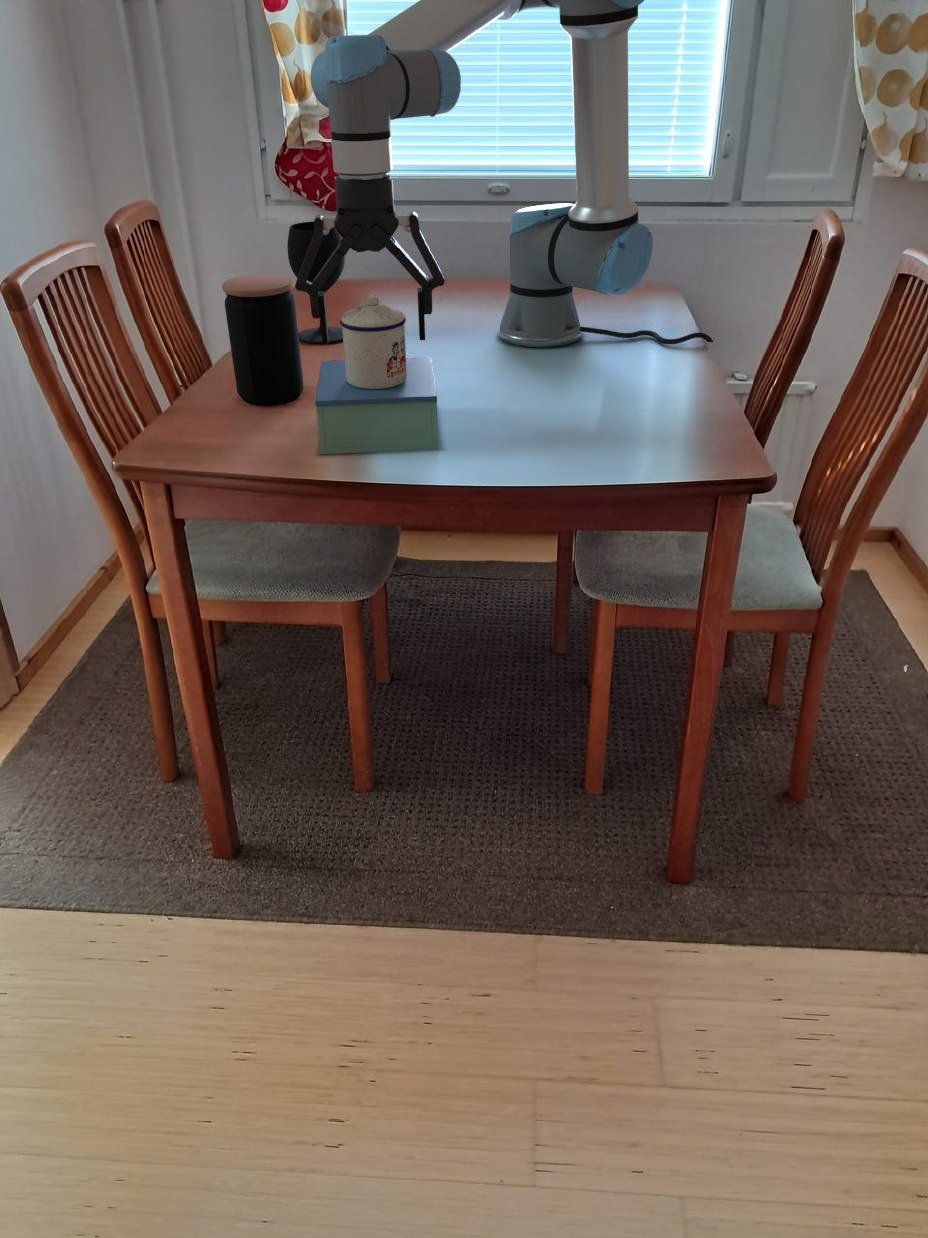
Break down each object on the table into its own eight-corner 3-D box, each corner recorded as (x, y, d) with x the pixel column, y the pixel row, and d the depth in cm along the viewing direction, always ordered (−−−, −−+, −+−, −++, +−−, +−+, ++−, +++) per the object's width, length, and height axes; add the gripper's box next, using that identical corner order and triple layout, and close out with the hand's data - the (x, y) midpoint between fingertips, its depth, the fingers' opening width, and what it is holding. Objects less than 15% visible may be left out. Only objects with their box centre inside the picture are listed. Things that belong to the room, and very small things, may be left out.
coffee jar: (316, 388, 158) (304, 276, 149) (285, 410, 150) (271, 292, 140) (258, 382, 161) (244, 271, 152) (225, 403, 153) (208, 287, 143)
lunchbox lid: (437, 401, 131) (437, 396, 131) (315, 406, 130) (315, 400, 130) (431, 362, 146) (431, 356, 146) (321, 366, 145) (321, 360, 145)
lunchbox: (438, 449, 136) (436, 399, 132) (321, 454, 135) (315, 404, 131) (432, 408, 150) (431, 362, 146) (326, 412, 149) (321, 366, 145)
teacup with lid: (400, 392, 132) (395, 306, 126) (336, 389, 134) (329, 304, 128) (419, 365, 142) (416, 284, 136) (360, 362, 144) (354, 282, 137)
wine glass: (286, 341, 181) (273, 229, 171) (314, 326, 189) (303, 218, 179) (335, 346, 178) (325, 232, 167) (360, 331, 186) (352, 221, 175)
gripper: (457, 167, 127) (460, 328, 139) (268, 173, 126) (287, 334, 137) (461, 176, 121) (464, 343, 133) (263, 181, 120) (282, 350, 131)
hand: (374, 339), depth 135 cm, fingers open, 13 cm apart
